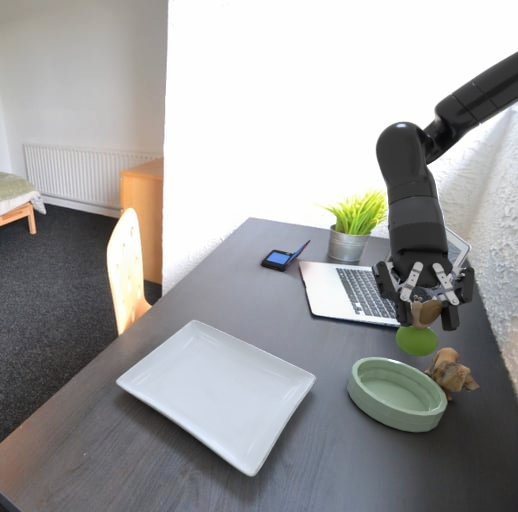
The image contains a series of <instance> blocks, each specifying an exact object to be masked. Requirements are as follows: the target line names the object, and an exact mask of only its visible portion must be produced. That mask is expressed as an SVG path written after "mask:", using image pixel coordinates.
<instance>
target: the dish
mask: <svg viewBox="0 0 518 512" xmlns="http://www.w3.org/2000/svg"><path fill="white" fill-rule="evenodd" d="M431 378H432V377H431V376H428V375H426V374H424V372H423V371H421V370H419V369H418V368H416V367H413V366H411V365H409V364H406V363H404V362H401V361H398V360H394V359H391V358H386V357H380V356H379V357H378V356H371V357H364V358H361V359H359V360H356V361H355V362H354V364H353V365H352V367H351V370H350V372H349V376H348V379H347V381H346V383H347V386H346V390H347V392H348V394H349V397H350V399H352V401H353V402H354V404H355V405H356V406H357V407H358V409H360V410H361V411H363V412H364V413H366V414H367V415H368V416H369V417H371V418H372V419H374V420H376V421H377V422H380V423H381V424H384V425H386V426H388V427H391V428H393V429H397V430H400V431H405V432H411V433H423V432H430V431H431V430H432V429H435V428H436V427H437V426H438V424H439V423H440V421H441V419H442V416H443V414H444V413H445V411H446V408H447V406H448V400H447V399H446V395H445V393H444V392H443V391H444V390H443V389H441V388H440V386H439V385H438V384H437V383H436V382H434V381H433V380H432V379H431Z"/></svg>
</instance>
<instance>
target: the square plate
mask: <svg viewBox="0 0 518 512" xmlns="http://www.w3.org/2000/svg"><path fill="white" fill-rule="evenodd" d="M316 381H317V376H316V375H314V374H313V373H311V372H310V371H307V370H305V369H303V368H301V367H299V366H297V365H294V364H292V363H290V362H288V361H286V360H284V359H282V358H280V357H279V356H276V355H274V354H271V353H269V352H268V351H265V350H263V349H261V348H259V347H256V346H255V345H253V344H250V343H248V342H246V341H244V340H242V339H240V338H238V337H236V336H233V335H231V334H228V333H226V332H224V331H223V330H220V329H217V328H216V327H213V326H211V325H210V324H209V325H208V324H207V323H204V322H202V321H199V320H197V319H192V320H190V321H189V322H188V323H186V324H185V325H184V326H183V327H181V328H180V329H178V331H176V332H175V333H174V334H173V335H171V336H170V337H169V338H167V339H166V340H165V341H164V342H162V343H161V344H160V345H158V346H157V347H156V348H154V349H153V350H152V351H151V352H149V354H147V355H146V356H144V357H143V358H142V359H140V360H139V361H138V362H136V363H135V364H134V365H133V366H132V367H130V368H129V369H128V370H127V371H126V372H124V373H123V374H122V375H121V376H119V377H118V378H117V379H116V380H115V384H116V385H117V386H118V387H119V388H121V389H122V390H124V392H127V393H129V394H130V395H132V396H133V397H135V398H136V399H137V400H139V401H140V402H142V403H144V404H145V405H147V406H148V407H150V408H152V409H153V410H155V411H156V412H158V413H159V414H160V415H162V416H163V417H165V418H166V419H168V420H170V421H171V422H172V423H174V424H175V425H177V426H178V427H180V429H182V430H184V431H185V432H186V433H188V434H189V435H191V436H192V437H194V438H195V439H196V440H198V441H199V442H200V443H202V444H203V445H204V446H205V447H207V448H208V449H209V450H211V451H212V452H213V453H215V454H216V455H217V456H218V457H220V458H221V459H223V460H224V461H225V462H226V463H228V464H229V465H231V467H233V468H235V469H236V470H237V471H239V472H240V473H242V474H243V475H245V476H247V477H250V478H253V477H255V476H256V475H257V474H258V473H259V472H260V471H261V469H262V467H263V465H264V464H265V462H266V461H267V459H268V457H269V455H270V454H271V451H272V450H273V448H274V447H275V445H276V442H277V441H278V440H279V438H280V436H281V434H282V433H283V431H284V429H285V427H286V426H287V424H288V423H289V421H290V419H291V418H292V416H293V415H294V414H295V412H296V410H297V409H298V407H299V406H300V405H301V403H302V402H303V400H304V399H305V398H306V396H307V395H308V393H309V392H311V390H312V388H313V387H314V385H315V384H316Z"/></svg>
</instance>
